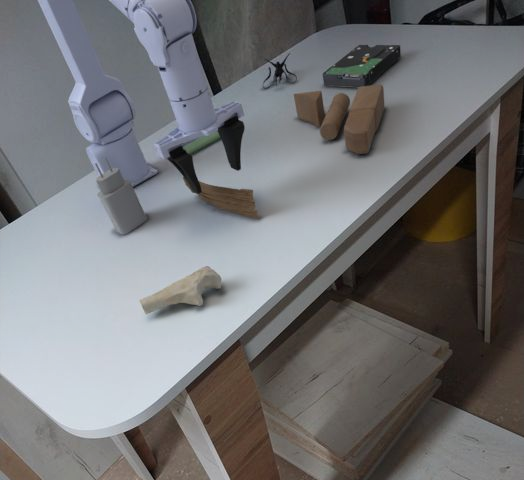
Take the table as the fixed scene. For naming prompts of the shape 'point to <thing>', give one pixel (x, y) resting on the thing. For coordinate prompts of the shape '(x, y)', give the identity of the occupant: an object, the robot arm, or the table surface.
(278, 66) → the creature
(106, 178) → the power adapter
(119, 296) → the table surface
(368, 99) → the wooden block set
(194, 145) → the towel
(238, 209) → the wood plank
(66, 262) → the table surface
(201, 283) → the bone fragment
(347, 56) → the disk drive
